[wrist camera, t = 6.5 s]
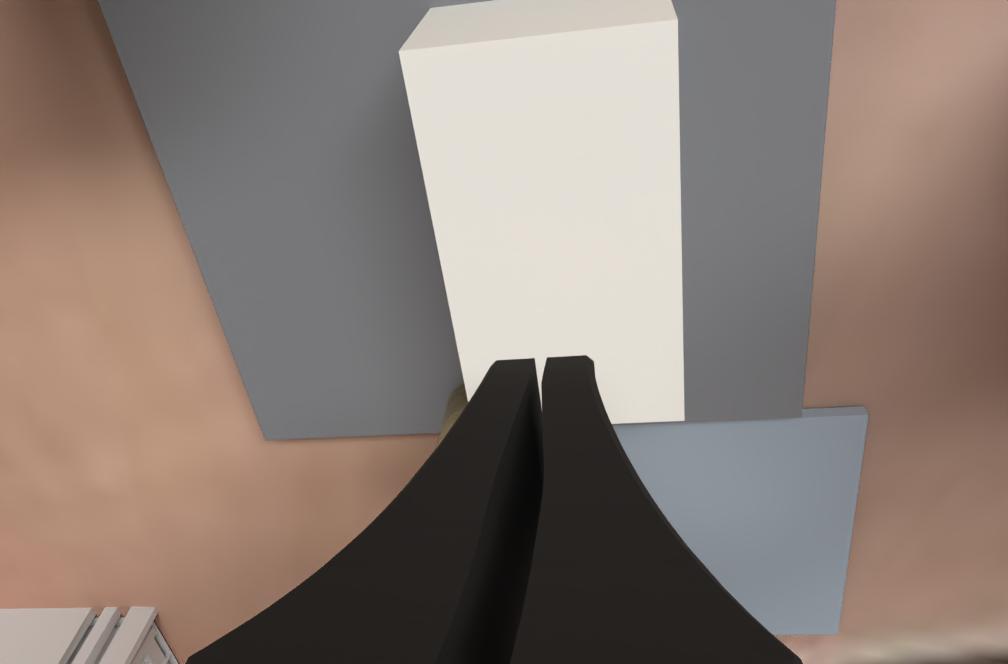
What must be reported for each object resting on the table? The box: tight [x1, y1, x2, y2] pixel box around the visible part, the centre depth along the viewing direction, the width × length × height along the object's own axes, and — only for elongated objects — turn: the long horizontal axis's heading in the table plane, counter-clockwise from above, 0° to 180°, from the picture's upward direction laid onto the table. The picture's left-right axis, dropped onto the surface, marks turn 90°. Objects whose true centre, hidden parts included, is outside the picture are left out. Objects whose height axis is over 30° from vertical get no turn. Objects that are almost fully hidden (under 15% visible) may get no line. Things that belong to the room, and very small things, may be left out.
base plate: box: [98, 0, 836, 440], centre depth 21 cm, size 16×14×1 cm
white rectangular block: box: [399, 0, 685, 424], centre depth 18 cm, size 5×9×4 cm, turn 8°
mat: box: [613, 406, 869, 635], centre depth 27 cm, size 8×10×1 cm
